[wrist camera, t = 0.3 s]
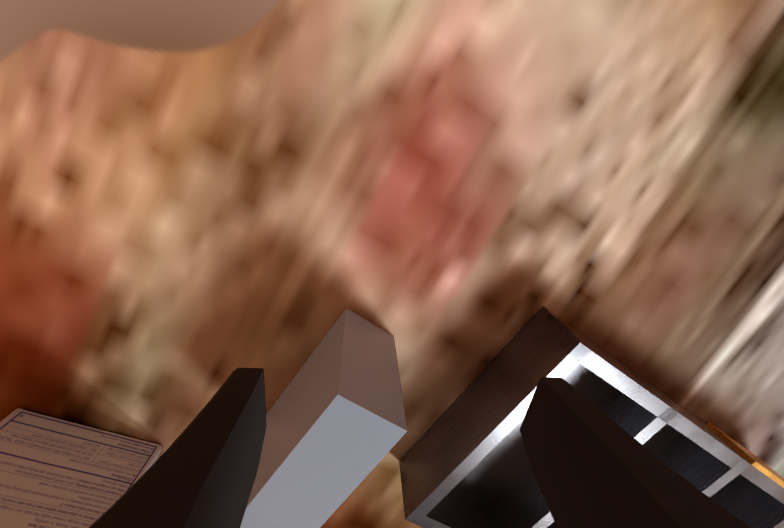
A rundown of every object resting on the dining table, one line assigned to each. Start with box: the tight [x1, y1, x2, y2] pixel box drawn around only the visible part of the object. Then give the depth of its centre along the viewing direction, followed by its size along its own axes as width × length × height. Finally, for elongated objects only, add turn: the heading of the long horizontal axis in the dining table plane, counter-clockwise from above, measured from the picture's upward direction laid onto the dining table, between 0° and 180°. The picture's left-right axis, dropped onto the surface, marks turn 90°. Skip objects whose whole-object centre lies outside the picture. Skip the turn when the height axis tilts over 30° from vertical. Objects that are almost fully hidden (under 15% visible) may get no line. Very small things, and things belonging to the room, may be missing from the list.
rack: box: [399, 306, 784, 528], centre depth 23 cm, size 14×21×4 cm, turn 54°
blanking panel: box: [240, 308, 407, 528], centre depth 18 cm, size 9×3×7 cm, turn 144°
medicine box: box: [0, 408, 162, 528], centre depth 18 cm, size 8×4×9 cm, turn 65°
